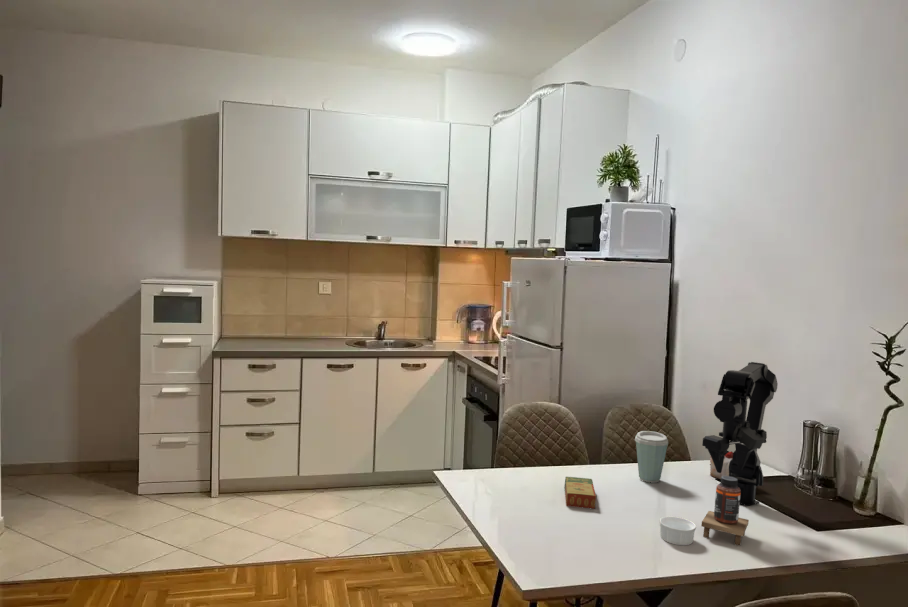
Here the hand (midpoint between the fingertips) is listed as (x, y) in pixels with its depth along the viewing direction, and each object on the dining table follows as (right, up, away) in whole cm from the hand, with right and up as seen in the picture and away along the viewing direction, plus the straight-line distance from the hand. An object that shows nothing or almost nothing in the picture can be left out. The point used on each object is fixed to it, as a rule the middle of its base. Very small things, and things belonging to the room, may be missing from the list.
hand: (729, 470), depth 192 cm
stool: (-7, -14, -14) cm, 21 cm away
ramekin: (-21, -13, -18) cm, 31 cm away
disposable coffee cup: (-14, -10, +30) cm, 35 cm away
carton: (-41, -11, +8) cm, 43 cm away
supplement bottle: (-7, -10, -14) cm, 18 cm away
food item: (+14, -12, +35) cm, 39 cm away
